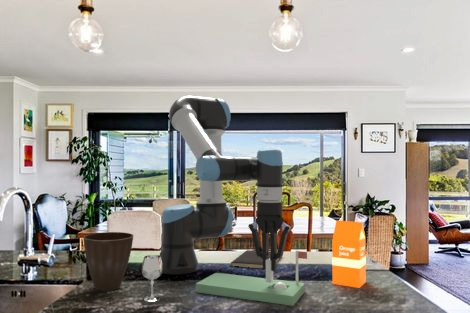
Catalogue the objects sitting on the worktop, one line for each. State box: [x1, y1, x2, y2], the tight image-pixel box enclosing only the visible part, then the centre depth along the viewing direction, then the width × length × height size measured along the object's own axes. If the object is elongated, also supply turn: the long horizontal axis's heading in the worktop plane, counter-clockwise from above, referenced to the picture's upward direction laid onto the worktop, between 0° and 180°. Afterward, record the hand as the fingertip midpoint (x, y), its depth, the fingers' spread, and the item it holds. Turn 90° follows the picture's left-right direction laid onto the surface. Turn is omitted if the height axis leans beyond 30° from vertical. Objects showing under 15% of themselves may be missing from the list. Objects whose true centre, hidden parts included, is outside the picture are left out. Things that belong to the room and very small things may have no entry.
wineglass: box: [141, 254, 163, 303], centre depth 115 cm, size 6×6×12 cm
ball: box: [273, 282, 287, 290], centre depth 119 cm, size 4×4×4 cm
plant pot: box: [83, 231, 134, 292], centre depth 127 cm, size 15×15×16 cm
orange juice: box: [331, 220, 367, 289], centre depth 133 cm, size 8×9×20 cm
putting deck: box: [195, 249, 308, 306], centre depth 123 cm, size 31×14×12 cm, turn 67°
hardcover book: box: [230, 249, 281, 269], centre depth 163 cm, size 16×23×2 cm
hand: (269, 281), depth 120 cm, fingers closed
